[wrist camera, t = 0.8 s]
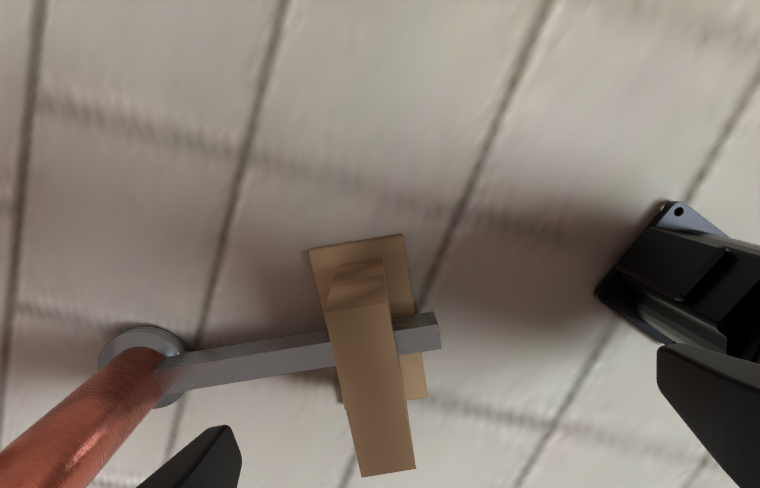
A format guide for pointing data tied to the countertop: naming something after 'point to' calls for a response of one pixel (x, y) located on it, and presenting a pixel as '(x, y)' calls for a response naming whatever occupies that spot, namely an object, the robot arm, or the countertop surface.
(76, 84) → the countertop surface
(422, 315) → the copper pillar
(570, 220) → the countertop surface
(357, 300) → the eye bracket
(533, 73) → the countertop surface
